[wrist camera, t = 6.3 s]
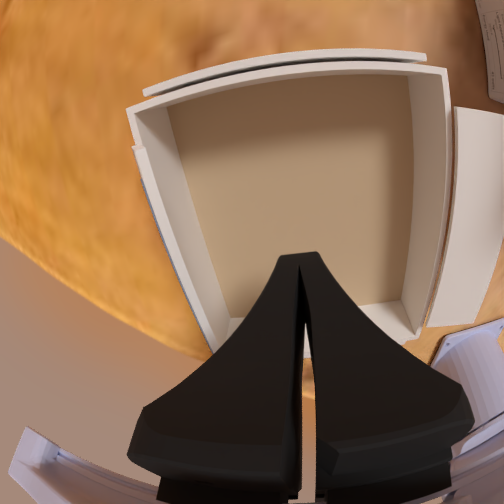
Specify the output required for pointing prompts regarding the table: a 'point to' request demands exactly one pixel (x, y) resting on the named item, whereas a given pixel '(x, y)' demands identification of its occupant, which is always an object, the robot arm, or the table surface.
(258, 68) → the carton
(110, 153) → the table surface
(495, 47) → the light bulb box
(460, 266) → the flap
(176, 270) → the flap
